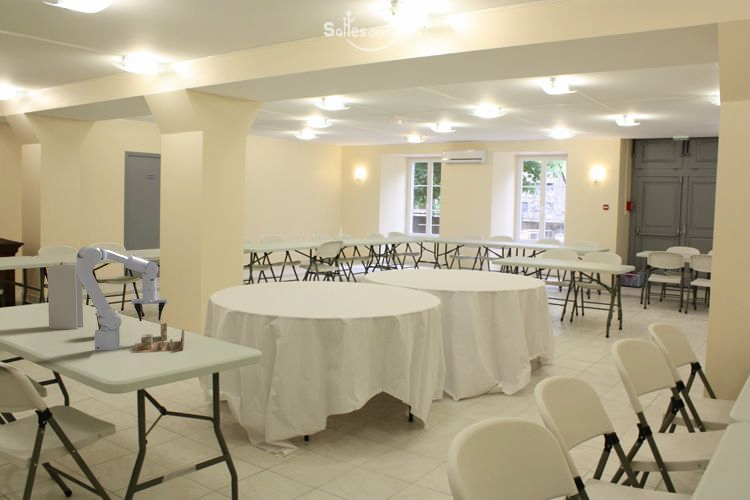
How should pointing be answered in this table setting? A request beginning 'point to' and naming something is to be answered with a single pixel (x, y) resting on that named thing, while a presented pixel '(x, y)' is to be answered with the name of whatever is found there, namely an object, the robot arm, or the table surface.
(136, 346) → the walnut rack
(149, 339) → the upper offcut
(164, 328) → the plywood sheet
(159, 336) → the slate mat
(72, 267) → the tall grey upright box
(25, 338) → the table surface
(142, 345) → the block
